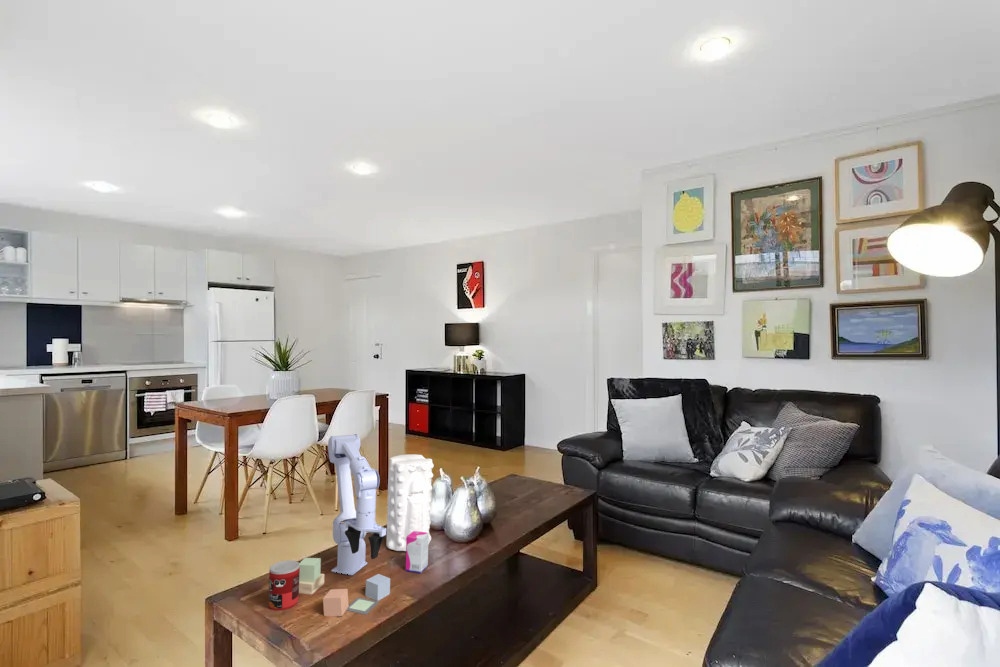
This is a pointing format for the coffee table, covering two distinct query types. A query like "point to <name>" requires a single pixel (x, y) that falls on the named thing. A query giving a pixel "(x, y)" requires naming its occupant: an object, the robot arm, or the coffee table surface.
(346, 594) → the terracotta cube
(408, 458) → the vase
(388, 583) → the slate blue cube
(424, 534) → the supplement box
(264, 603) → the coffee table surface
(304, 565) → the sage cube
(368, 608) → the tile
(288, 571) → the canned food
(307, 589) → the maple slab
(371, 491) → the robot arm
